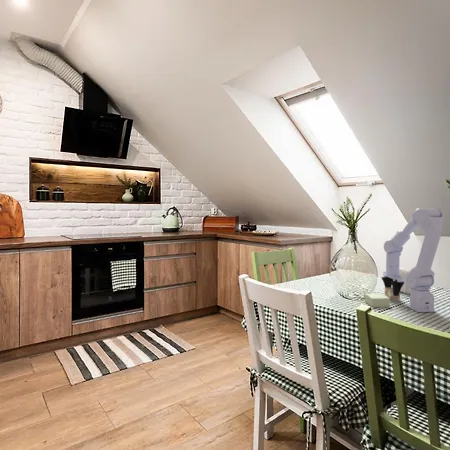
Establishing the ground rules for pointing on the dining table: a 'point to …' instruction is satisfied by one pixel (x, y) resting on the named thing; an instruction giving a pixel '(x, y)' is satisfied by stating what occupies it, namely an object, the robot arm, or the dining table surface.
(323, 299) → the dining table surface
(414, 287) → the robot arm
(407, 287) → the photo printer
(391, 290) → the cream cube
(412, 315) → the dining table surface
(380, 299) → the sage base block
